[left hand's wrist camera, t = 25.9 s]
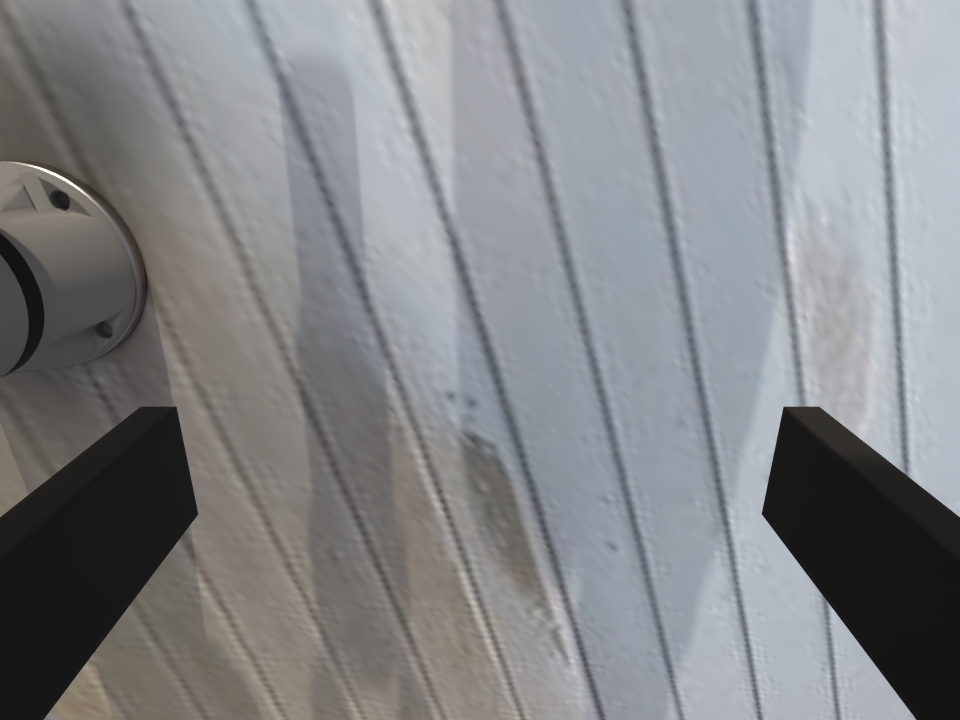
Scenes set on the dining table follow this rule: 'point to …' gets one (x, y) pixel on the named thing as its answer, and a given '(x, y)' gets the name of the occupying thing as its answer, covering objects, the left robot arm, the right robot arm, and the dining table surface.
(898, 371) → the dining table surface
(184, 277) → the dining table surface
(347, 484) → the dining table surface
